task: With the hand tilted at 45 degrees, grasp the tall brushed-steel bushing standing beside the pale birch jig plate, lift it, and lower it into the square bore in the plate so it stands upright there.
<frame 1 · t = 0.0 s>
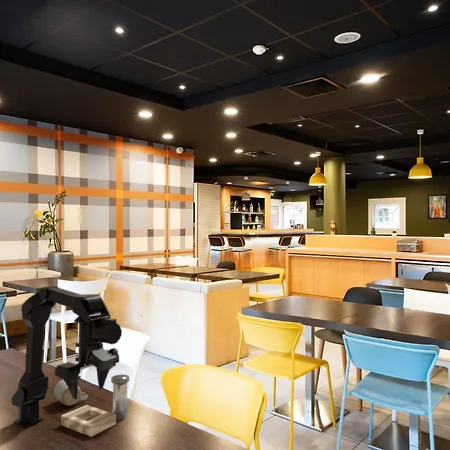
hand: (88, 393, 121), 15 cm above the table, tool pointing down, fingers open, 9 cm apart
jig plate: (88, 424, 133), on the table
ceramic mug: (71, 402, 152), on the table
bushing: (119, 416, 139), on the table
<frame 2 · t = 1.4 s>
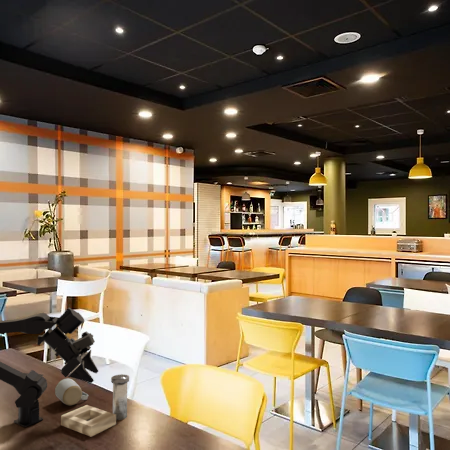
hand: (95, 376, 139), 13 cm above the table, tool tilted 45°, fingers open, 9 cm apart
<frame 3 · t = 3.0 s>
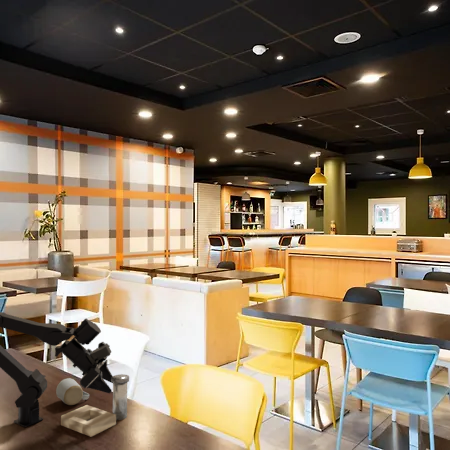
hand: (112, 386, 139), 10 cm above the table, tool tilted 45°, fingers open, 9 cm apart
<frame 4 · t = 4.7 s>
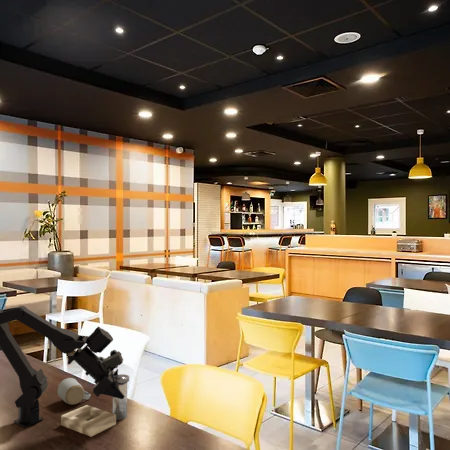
hand: (124, 395, 140), 7 cm above the table, tool tilted 45°, fingers closed on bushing, 5 cm apart
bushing: (119, 416, 139), on the table, touching gripper
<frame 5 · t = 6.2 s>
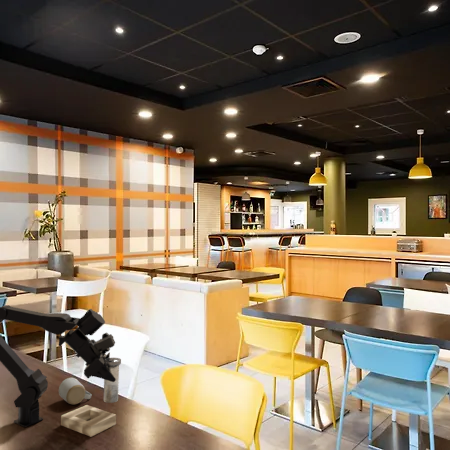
hand: (115, 378, 138), 13 cm above the table, tool tilted 45°, fingers closed on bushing, 5 cm apart
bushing: (110, 400, 138), point 6 cm above the table, touching gripper
when the fingers open (9 cm above the table, at t = 8.2 s): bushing drops 2 cm, resting in jig plate.
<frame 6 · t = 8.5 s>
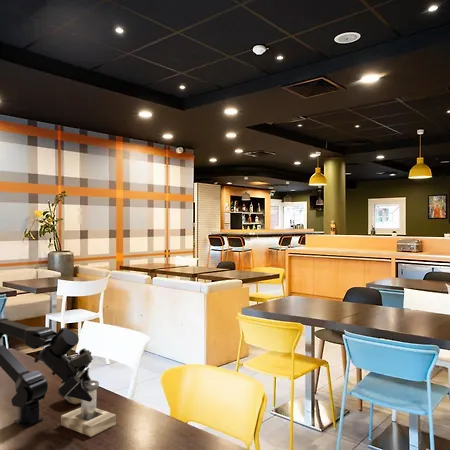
hand: (93, 395, 134), 9 cm above the table, tool tilted 45°, fingers open, 7 cm apart
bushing: (88, 424, 133), resting in jig plate
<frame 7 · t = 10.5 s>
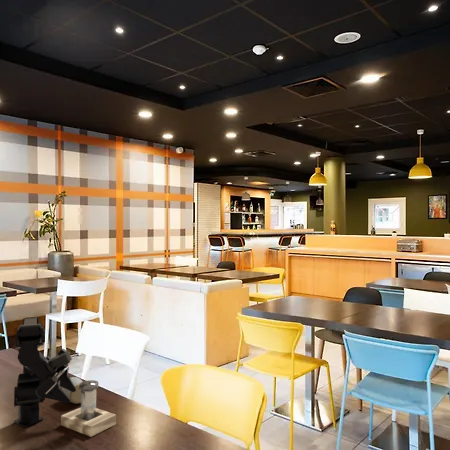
hand: (72, 396, 133), 9 cm above the table, tool tilted 45°, fingers open, 9 cm apart
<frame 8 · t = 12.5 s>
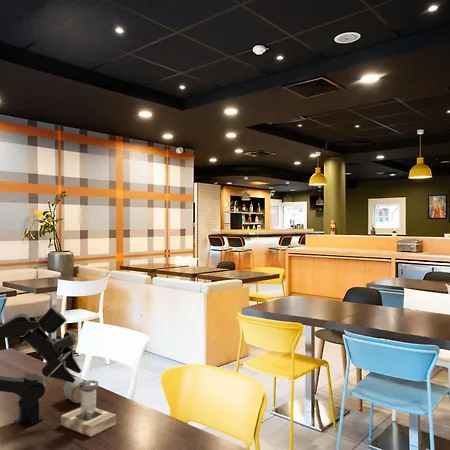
hand: (77, 376, 138), 14 cm above the table, tool tilted 45°, fingers open, 9 cm apart
at the end: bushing 0.1 cm off-centre on the jig plate, point 0.0 cm above the jig plate's base; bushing tilted 0°; the gripper is holding nothing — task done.
